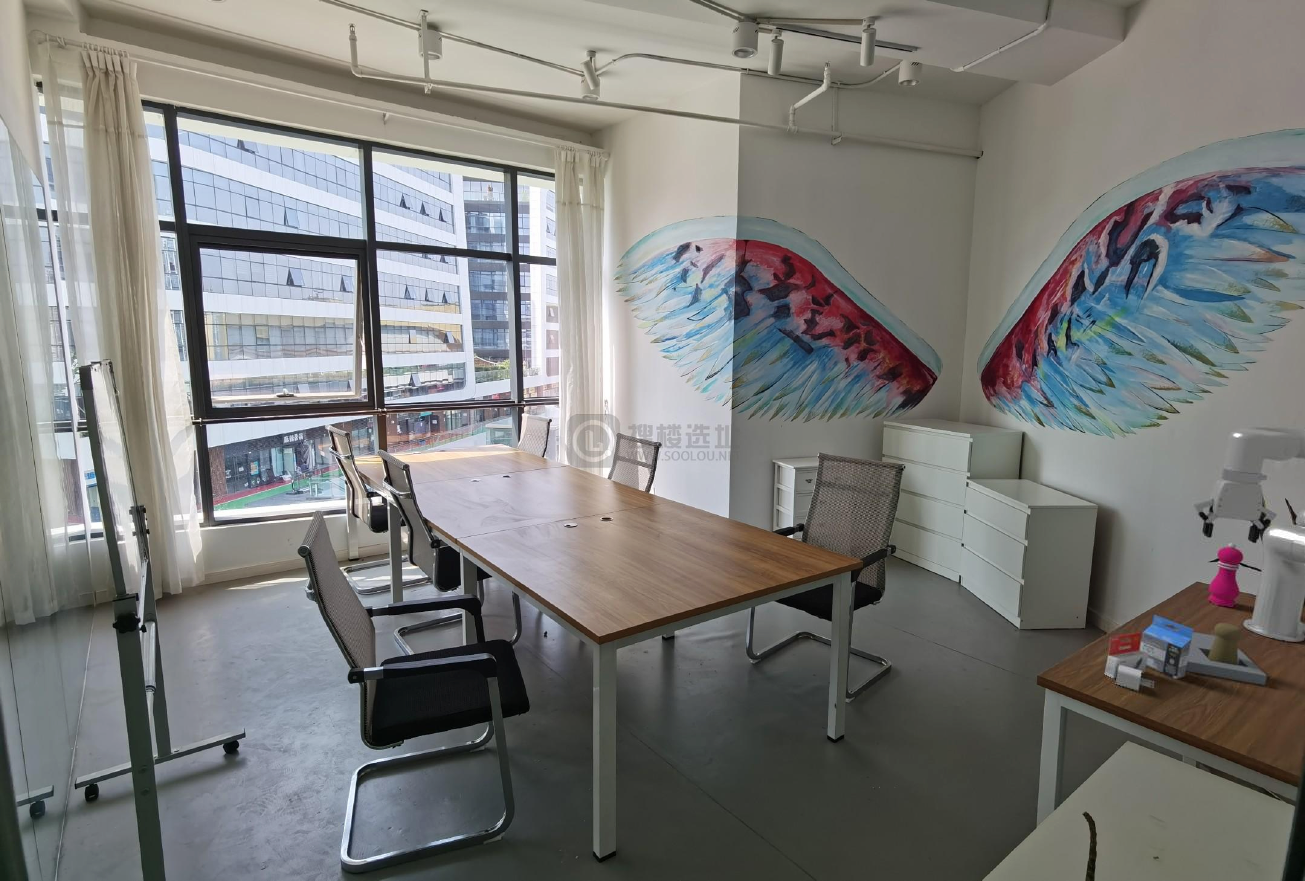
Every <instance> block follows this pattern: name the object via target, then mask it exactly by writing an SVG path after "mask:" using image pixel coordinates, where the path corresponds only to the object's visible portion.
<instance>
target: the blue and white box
mask: <svg viewBox="0 0 1305 881" xmlns="http://www.w3.org/2000/svg"><path fill="white" fill-rule="evenodd" d="M1166 625H1168V626H1170V627H1168V626H1166ZM1171 626H1173V627H1174V628H1171ZM1174 629H1177V630H1179V631H1177V630H1174ZM1193 632H1194V628H1191V627H1189V626H1185V625H1183V624H1180V623H1177V622H1175V621H1172V620H1170V619H1167V618H1164V617H1161V616H1159V615H1156V614H1154V616H1153V620H1152V623H1151V625H1150V626H1148V627H1147V628H1146V629H1145V630H1144V631H1143V632H1142V633H1141V641H1140V651H1142V652H1144V653H1147V654H1148V659H1147V664H1146V667H1147V666H1148V668H1150V669H1153V670H1154V669H1155V670H1154V671H1157V672H1160V673H1161V672H1162V674H1163V675H1166V676H1168V677H1171V678H1172V677H1173V679H1175V680H1179V679H1181V678H1185V676H1186V672H1187V671H1186V666H1187V660H1188V655H1189V649H1190V645H1191V638H1192V633H1193Z"/></svg>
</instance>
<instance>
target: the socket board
mask: <svg viewBox="0 0 1305 881" xmlns="http://www.w3.org/2000/svg"><path fill="white" fill-rule="evenodd" d="M1173 629H1174V630H1177V631H1179V629H1178V628H1173ZM1215 637H1216V635H1213V634H1206V633H1201V632H1194V631H1193V633H1192V638H1191V645H1190V649H1189V655H1188V660H1187V666H1186V671H1185V672H1190V673H1196V674H1201V675H1206V676H1213V677H1217V678H1223V679H1228V680H1234V681H1238V682H1239V681H1240V682H1245V683H1250V684H1256V685H1260V684H1261V686H1265V685H1266V681H1267V677H1268V676H1267V674H1265V672H1264V671H1262V669H1260V668H1259V667H1258V666H1257V665H1256V664H1255V663H1254V662H1253V660H1251V659H1250V658H1249V657H1248V656H1247V655H1246V654H1245V653H1244V652H1243V651H1241V649H1240V648H1238V665H1232V664H1226V663H1221V662H1215V661H1210V660H1209V659H1208V655H1209V653H1210V650H1211V648H1212V645H1213V642H1214V640H1215Z"/></svg>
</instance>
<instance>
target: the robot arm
mask: <svg viewBox="0 0 1305 881" xmlns="http://www.w3.org/2000/svg"><path fill="white" fill-rule="evenodd" d="M1293 458H1295V459H1303V460H1305V427H1268V426H1267V427H1263V426H1261V427H1257V426H1256V427H1254V426H1253V427H1252V426H1251V427H1242V428H1239V429H1237V430H1235V431H1232V432H1231V433H1230V434H1229V435H1228V440H1227V444H1226V452H1225V456H1224V463H1223V470H1222V475H1221V479H1219V478H1218V479H1217V480H1216V482H1215V484H1214V485H1213V489H1212V491H1211V494H1210V497H1209V500H1207V501H1203V502H1200V503H1196V504H1194V506H1193V507H1194V509H1195V511H1196V514H1197V516H1199V517H1200V518H1201V519H1202V521H1203V524H1202V525H1203V526H1202V533H1203V536H1205V537H1206V538H1212V537H1213V531H1214V525H1215V524H1214V523H1213V522H1214V521H1215V520H1217V519H1218V518H1220V519H1221V518H1223V519H1228V520H1229V519H1230V520H1239V521H1246V522H1247V521H1248V522H1250V523H1251V524H1252V525H1250V526H1249V531H1248V536H1247V540H1248V541H1249V542H1251V543H1253V544H1256V543H1257V541H1258V540H1260V535H1261V532H1262V531H1261V530H1262V529H1264V527H1266V526H1268V525H1269V526H1268V527H1267V528H1265V530H1264V531H1263V534H1262V537H1261V538H1262V539H1261V540H1262V542H1261V543H1262V552H1263V553H1262V565H1261V571H1260V575H1259V581H1258V586H1257V591H1256V596H1255V602H1254V608H1253V611H1252V612H1253V613H1252V616H1251V618H1250V619H1245V620H1244V621H1243V626H1244V627H1245V628H1246V629H1247V630H1249V631H1251V632H1253V633H1255V634H1258V635H1260V636H1264V637H1267V638H1270V639H1273V638H1274V639H1275V640H1279V641H1283V640H1284V641H1285V642H1292V643H1295V642H1296V643H1298V642H1299V643H1301V642H1303V641H1305V623H1303V622H1302V621H1301V616H1302V612H1303V607H1304V602H1305V508H1303V509H1302V510H1301V511H1300V512H1299V513H1298V514H1297V516H1296V518H1295V523H1296V524H1291V523H1285V522H1284V523H1283V522H1280V523H1279V522H1278V523H1274V524H1271V523H1272V521H1273V520H1274V519H1275V518H1276V517H1277V515H1278V514H1277V513H1276V512H1275V511H1272V510H1270V509H1269V508H1266V507H1264V506H1263V486H1262V484H1261V481H1266V480H1267V477H1268V476H1267V475H1263V474H1262V470H1263V468H1262V467H1263V464H1264V460H1270V461H1277V462H1284V461H1290V460H1291V459H1293ZM1206 508H1207V512H1208V513H1205V511H1204V509H1206ZM1262 513H1263V514H1266V516H1265V517H1263V518H1262V519H1260V518H1261V516H1262ZM1270 524H1271V525H1270ZM1274 639H1273V640H1274Z"/></svg>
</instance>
